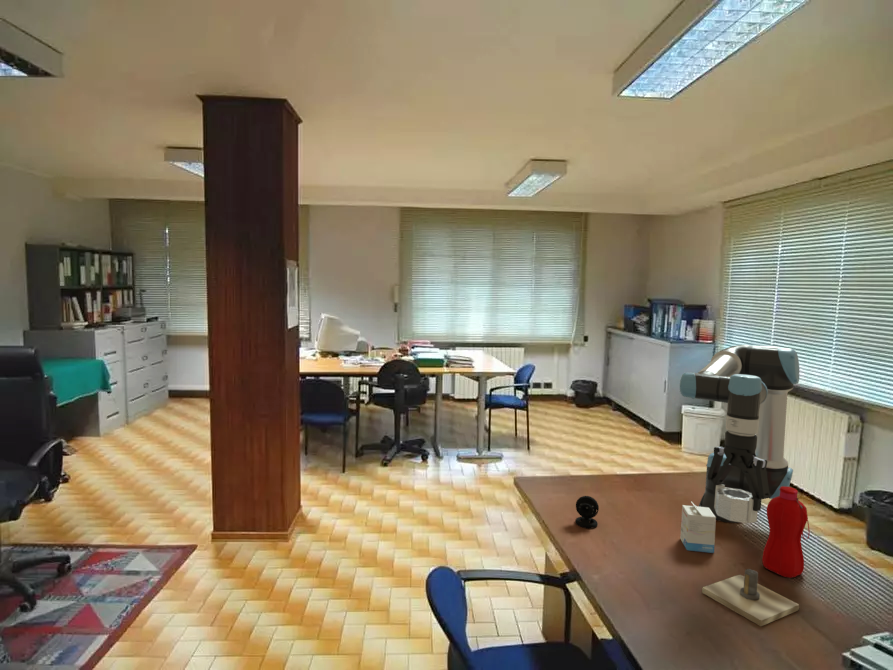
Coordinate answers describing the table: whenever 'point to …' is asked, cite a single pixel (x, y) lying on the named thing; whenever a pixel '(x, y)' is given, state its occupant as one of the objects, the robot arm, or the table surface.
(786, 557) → the water bottle
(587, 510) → the webcam
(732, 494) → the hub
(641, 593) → the table surface
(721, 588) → the shaft block
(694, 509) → the ink box
